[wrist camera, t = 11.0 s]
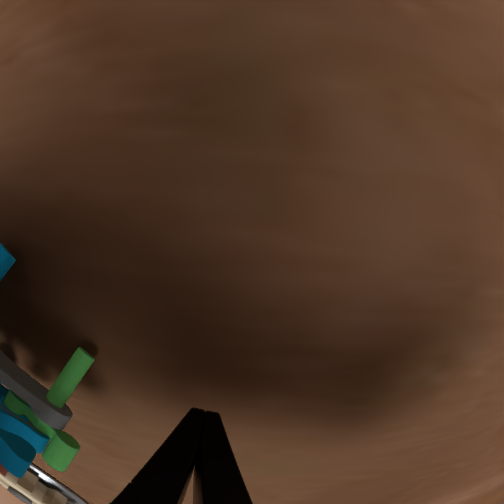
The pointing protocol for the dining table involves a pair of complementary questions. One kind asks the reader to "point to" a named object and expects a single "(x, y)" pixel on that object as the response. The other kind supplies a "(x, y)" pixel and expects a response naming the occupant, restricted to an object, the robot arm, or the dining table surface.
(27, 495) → the index wheel
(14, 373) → the gear
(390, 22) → the dining table surface
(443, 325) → the dining table surface
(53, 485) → the wheel base
